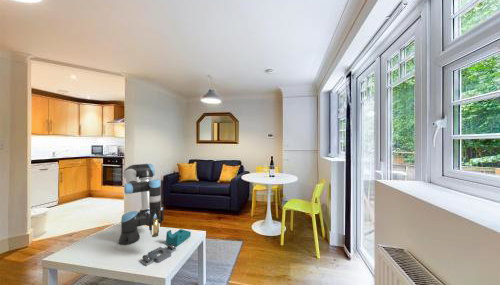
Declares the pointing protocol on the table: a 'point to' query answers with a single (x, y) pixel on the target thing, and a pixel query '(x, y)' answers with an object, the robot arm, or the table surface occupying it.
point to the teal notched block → (177, 237)
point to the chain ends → (153, 255)
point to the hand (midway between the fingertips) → (155, 232)
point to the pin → (155, 227)
